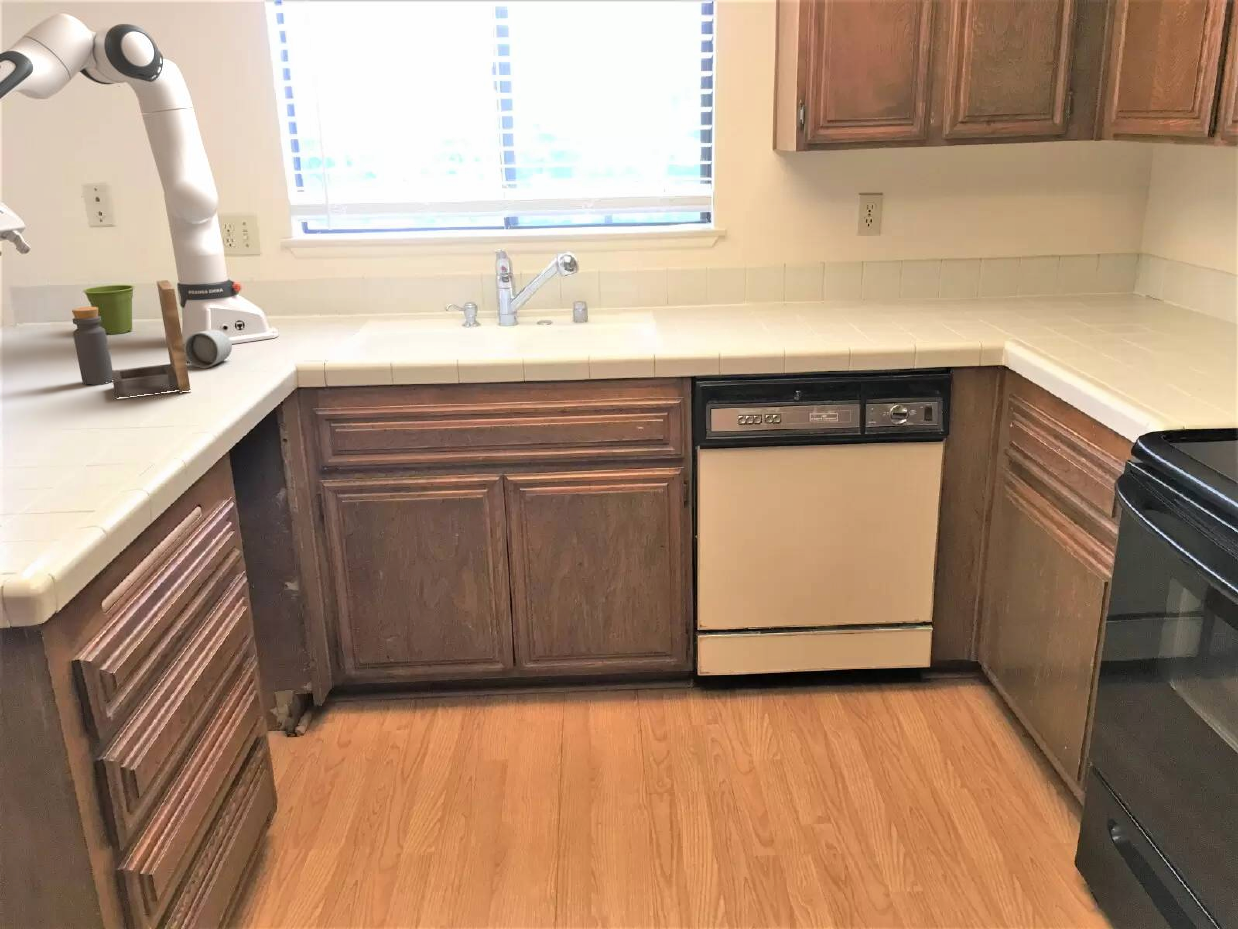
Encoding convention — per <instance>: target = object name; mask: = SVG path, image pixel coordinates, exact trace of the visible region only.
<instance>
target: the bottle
mask: <svg viewBox="0 0 1238 929" xmlns="http://www.w3.org/2000/svg"><path fill="white" fill-rule="evenodd" d="M71 312H72V315H73V317H74V318H72V323H73V325H75V326H76V329H75V330H74V331H73V332H72V335H73V339H74V346H75V352H76V355H77V356H76V357H77V361H78V367H79V371H80V377H81V382H82V384H83V385H84V384H101V385H104V384H103V383H106V382H110V381H112V374H111V371H112V370H114V369H113V364H112V359H111V353H110V348H109V343H108V338H107V334H106V332H105V329H104V328H102V327H100V326H99V322H101V317H100V316H98V308H97V307H92V306H84V307H76V308H73V309H71ZM110 383H111V382H110ZM106 384H107V383H106Z"/></svg>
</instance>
